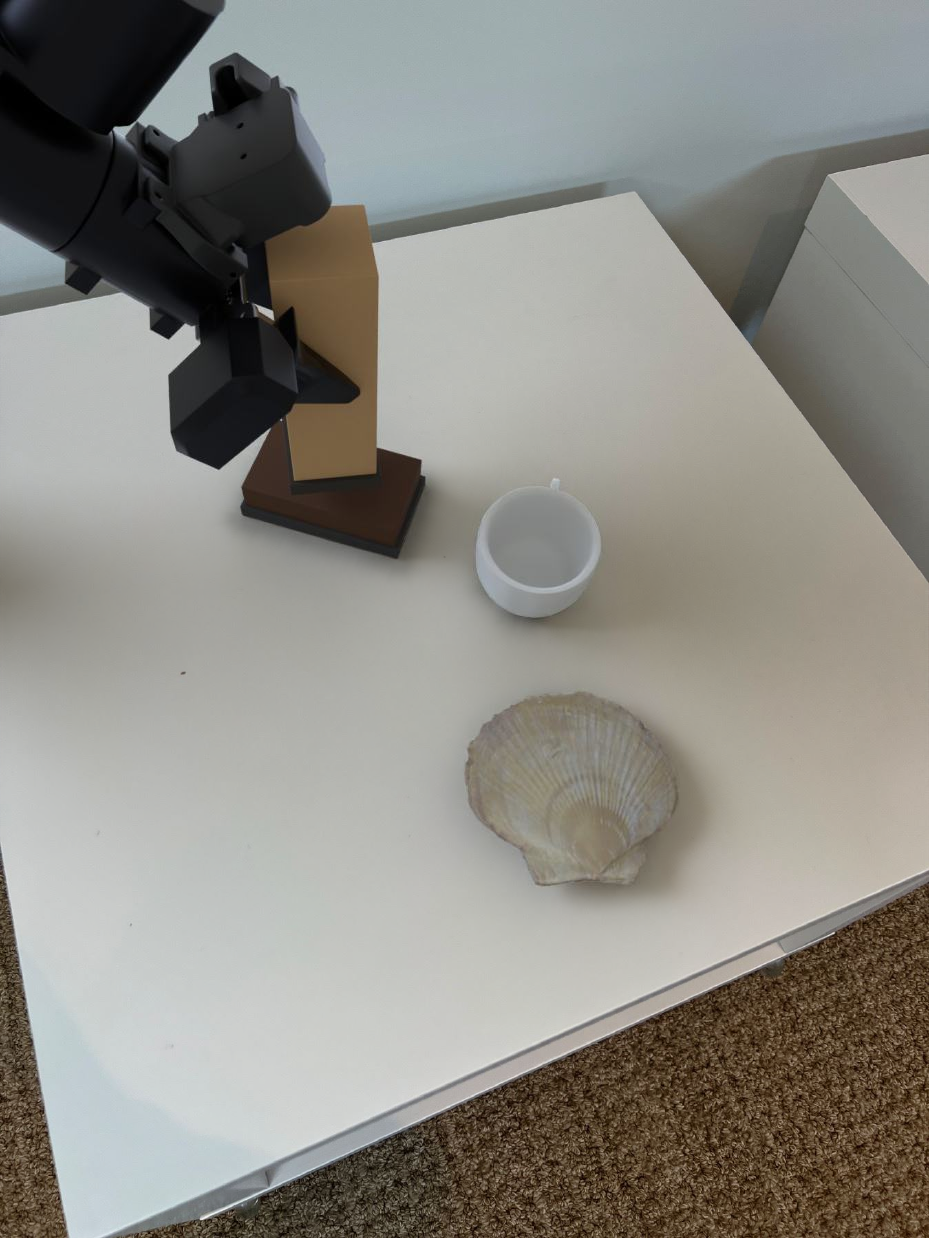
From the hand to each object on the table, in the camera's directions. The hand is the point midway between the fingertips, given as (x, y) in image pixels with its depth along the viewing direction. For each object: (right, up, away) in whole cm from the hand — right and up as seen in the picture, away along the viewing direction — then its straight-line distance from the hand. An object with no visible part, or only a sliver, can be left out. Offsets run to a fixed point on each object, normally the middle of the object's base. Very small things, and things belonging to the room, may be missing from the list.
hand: (349, 360), depth 48 cm
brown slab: (-3, -6, +12) cm, 13 cm away
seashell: (+12, -25, +4) cm, 28 cm away
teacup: (+11, -11, +11) cm, 19 cm away
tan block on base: (-2, -4, +7) cm, 8 cm away
